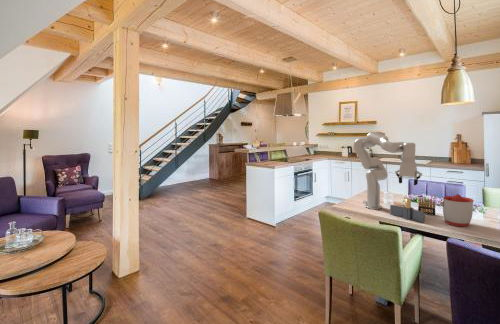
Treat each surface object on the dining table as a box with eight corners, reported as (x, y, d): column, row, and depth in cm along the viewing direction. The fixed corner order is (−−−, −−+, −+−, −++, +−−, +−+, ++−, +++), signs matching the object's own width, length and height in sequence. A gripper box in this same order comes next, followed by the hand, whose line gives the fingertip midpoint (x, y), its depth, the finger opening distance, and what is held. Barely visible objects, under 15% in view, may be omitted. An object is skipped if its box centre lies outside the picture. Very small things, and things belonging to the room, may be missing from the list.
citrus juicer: (439, 218, 181) (440, 190, 179) (472, 222, 170) (473, 193, 168) (438, 224, 169) (438, 194, 167) (473, 229, 158) (474, 198, 156)
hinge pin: (404, 218, 184) (404, 199, 182) (406, 217, 186) (406, 198, 184) (409, 219, 181) (409, 199, 180) (411, 218, 183) (411, 198, 182)
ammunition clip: (417, 212, 195) (418, 197, 193) (418, 212, 196) (418, 196, 195) (434, 215, 187) (435, 199, 186) (435, 214, 188) (435, 198, 187)
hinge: (387, 215, 190) (387, 205, 190) (392, 213, 195) (392, 203, 194) (423, 223, 172) (424, 212, 171) (428, 220, 176) (428, 210, 176)
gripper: (393, 159, 185) (392, 183, 187) (420, 161, 171) (419, 186, 173) (398, 159, 190) (397, 181, 192) (424, 160, 176) (423, 185, 178)
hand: (407, 184), depth 182 cm, fingers open, 9 cm apart
